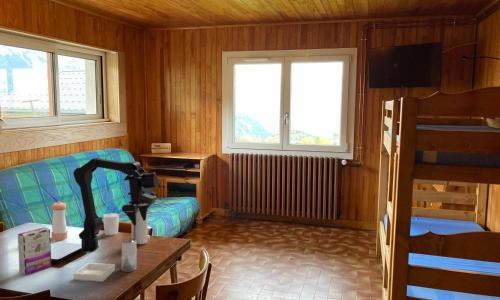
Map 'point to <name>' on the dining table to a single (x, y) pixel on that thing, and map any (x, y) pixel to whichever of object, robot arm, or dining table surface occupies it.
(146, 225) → the paper towel roll
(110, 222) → the white cup
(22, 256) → the candy bar box
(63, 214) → the pepper shaker
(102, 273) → the bin
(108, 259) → the dining table surface
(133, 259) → the gravel can
